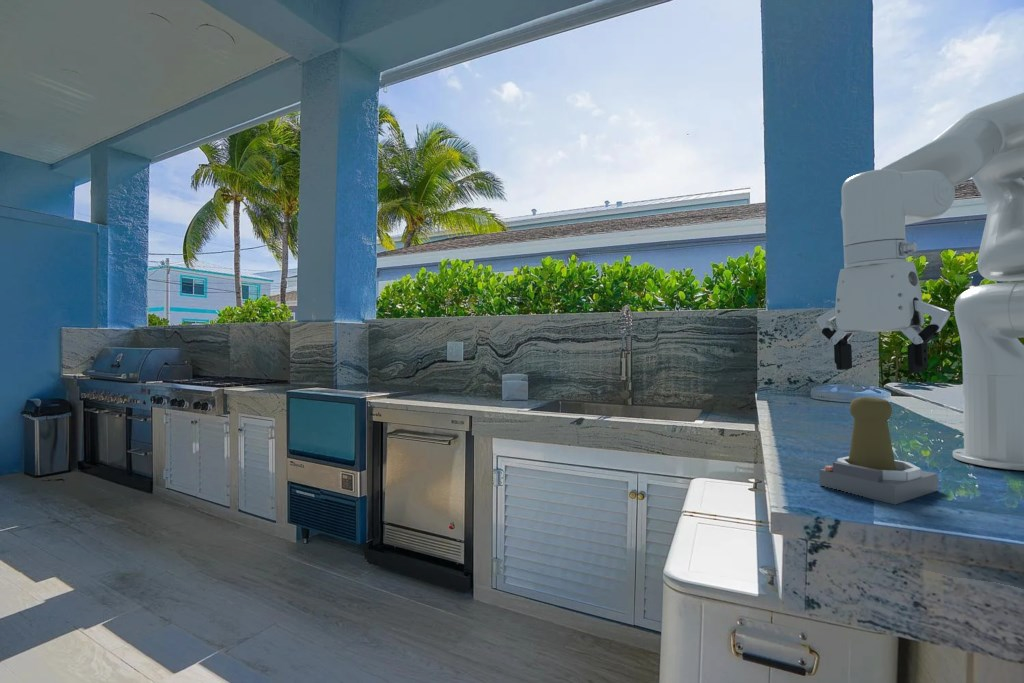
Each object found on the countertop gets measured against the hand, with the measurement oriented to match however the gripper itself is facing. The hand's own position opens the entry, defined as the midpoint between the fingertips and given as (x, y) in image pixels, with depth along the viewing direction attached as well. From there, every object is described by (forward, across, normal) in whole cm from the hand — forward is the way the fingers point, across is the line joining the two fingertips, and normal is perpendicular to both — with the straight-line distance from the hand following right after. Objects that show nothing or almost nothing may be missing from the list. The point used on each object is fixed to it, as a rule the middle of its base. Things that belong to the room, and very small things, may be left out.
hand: (878, 370), depth 74 cm
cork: (+15, +1, +1) cm, 15 cm away
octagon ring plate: (+18, 0, +1) cm, 18 cm away
